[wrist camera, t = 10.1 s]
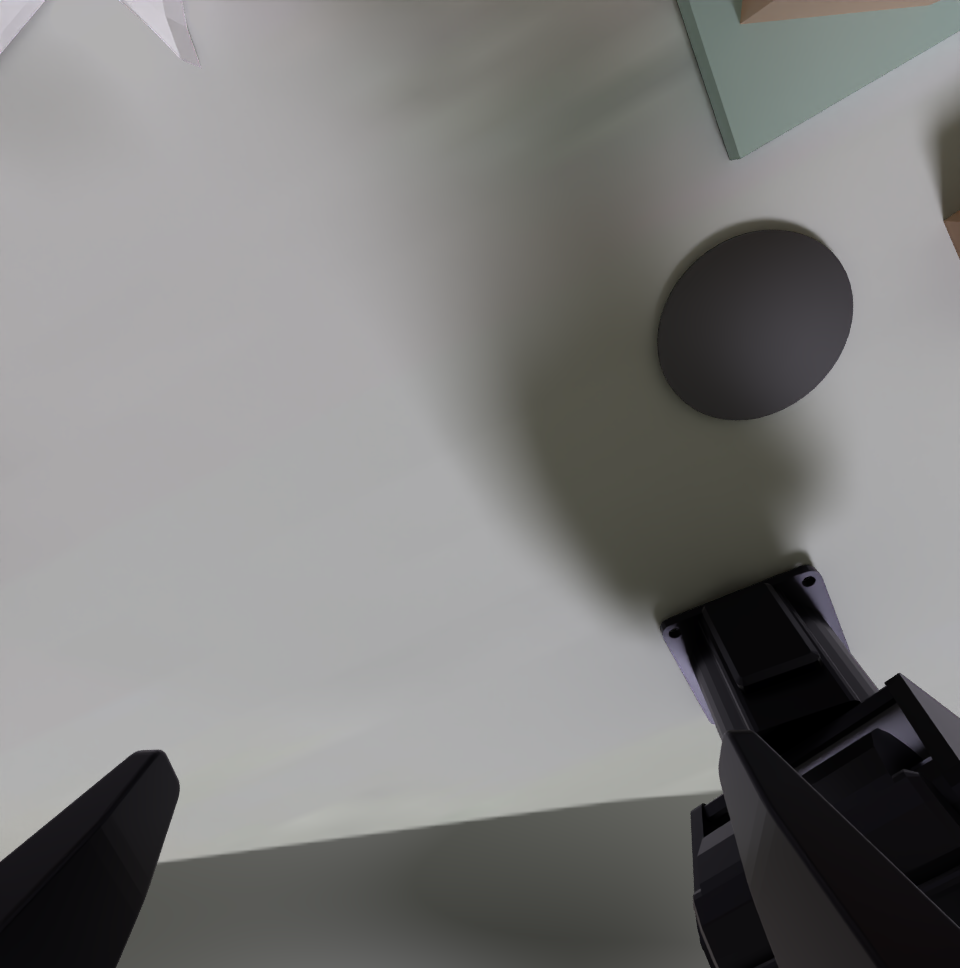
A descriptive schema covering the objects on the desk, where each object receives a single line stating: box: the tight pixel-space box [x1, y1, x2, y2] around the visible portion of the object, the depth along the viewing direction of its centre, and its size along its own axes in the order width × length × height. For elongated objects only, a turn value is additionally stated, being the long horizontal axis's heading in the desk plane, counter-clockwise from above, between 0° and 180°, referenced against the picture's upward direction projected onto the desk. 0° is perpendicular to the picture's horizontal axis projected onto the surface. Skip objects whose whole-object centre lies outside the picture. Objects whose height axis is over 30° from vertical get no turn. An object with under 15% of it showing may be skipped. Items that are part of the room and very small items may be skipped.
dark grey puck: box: [657, 230, 853, 420], centre depth 19 cm, size 6×6×1 cm
